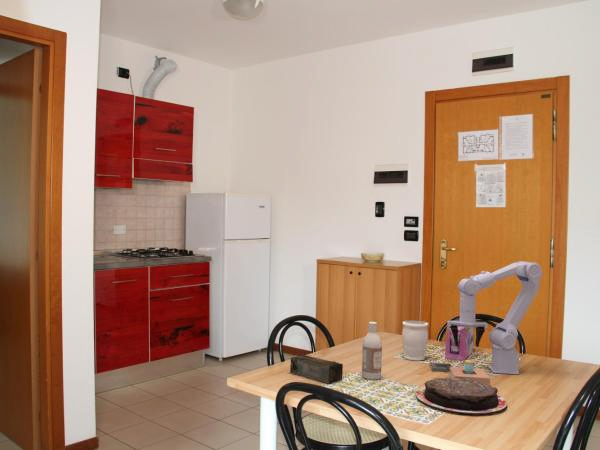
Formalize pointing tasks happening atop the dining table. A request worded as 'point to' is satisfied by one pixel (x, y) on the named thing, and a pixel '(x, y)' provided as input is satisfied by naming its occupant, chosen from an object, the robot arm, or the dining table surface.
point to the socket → (470, 375)
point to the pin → (469, 366)
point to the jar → (415, 339)
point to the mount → (440, 367)
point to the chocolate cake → (461, 396)
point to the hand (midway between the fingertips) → (466, 345)
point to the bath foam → (372, 354)
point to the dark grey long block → (316, 369)
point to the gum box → (459, 343)
